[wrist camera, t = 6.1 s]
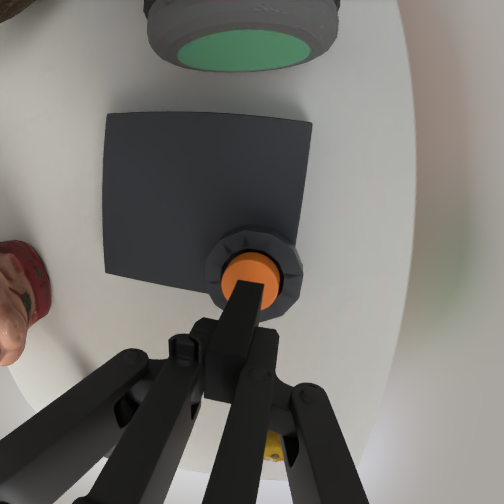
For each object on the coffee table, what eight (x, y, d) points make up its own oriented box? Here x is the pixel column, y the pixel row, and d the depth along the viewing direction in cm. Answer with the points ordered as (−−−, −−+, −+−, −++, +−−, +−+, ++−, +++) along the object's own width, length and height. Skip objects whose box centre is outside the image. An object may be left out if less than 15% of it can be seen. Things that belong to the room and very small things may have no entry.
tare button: (283, 256, 19) (282, 264, 18) (275, 304, 21) (274, 316, 19) (228, 247, 20) (223, 255, 18) (224, 296, 21) (219, 307, 19)
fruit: (233, 447, 31) (228, 470, 28) (245, 409, 29) (240, 435, 25) (297, 459, 31) (296, 482, 27) (320, 423, 28) (321, 448, 25)
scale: (321, 127, 19) (327, 121, 16) (293, 304, 24) (292, 328, 21) (119, 115, 21) (94, 112, 17) (116, 272, 25) (95, 288, 22)
